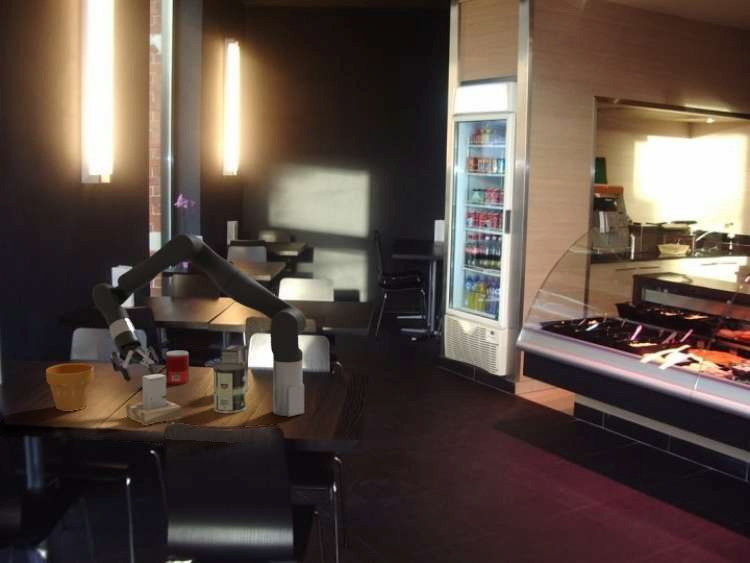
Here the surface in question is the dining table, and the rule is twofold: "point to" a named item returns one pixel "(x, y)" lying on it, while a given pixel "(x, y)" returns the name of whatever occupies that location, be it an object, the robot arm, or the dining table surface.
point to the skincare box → (154, 391)
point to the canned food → (177, 367)
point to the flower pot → (70, 384)
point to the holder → (154, 413)
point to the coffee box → (237, 357)
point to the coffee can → (229, 387)
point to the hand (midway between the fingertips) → (142, 378)
